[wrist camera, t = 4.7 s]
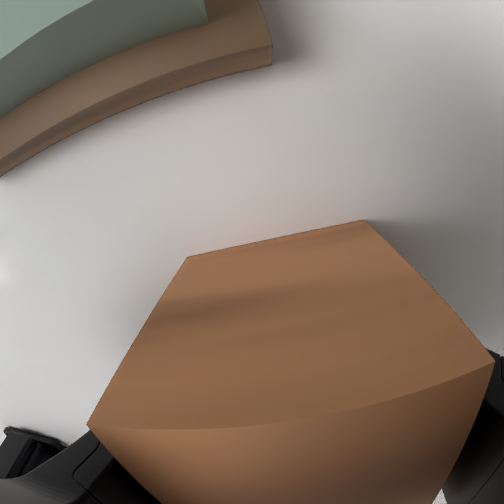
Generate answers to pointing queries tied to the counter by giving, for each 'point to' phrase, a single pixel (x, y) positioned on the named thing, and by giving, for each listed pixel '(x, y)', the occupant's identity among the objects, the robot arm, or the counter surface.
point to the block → (296, 378)
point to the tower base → (138, 78)
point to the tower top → (77, 37)
